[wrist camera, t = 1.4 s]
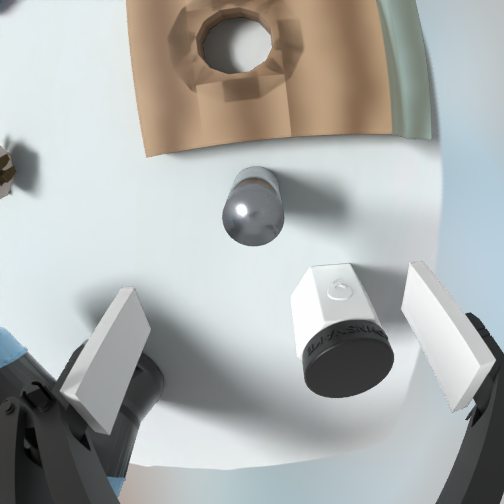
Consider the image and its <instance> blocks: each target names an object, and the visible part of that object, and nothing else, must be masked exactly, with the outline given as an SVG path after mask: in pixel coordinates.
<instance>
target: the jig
mask: <svg viewBox="0 0 504 504" xmlns="http://www.w3.org/2000/svg"><path fill="white" fill-rule="evenodd" d="M126 8H127V22H128V34H129V45H130V55H131V64H132V72H133V80H134V87H135V94H136V101H137V107H138V114H139V120H140V126H141V132H142V137H143V143H144V148H145V153H146V158H147V157H152V156H157V155H162V154H167V153H172V152H177V151H183V150H189V149H195V148H201V147H207V146H214V145H221V144H228V143H236V142H244V141H253V140H262V139H272V138H284V137H297V136H313V135H335V134H394V135H397V136H401V137H404V138H413V139H431V106H430V91H429V80H428V70H427V62H426V54H425V47H424V41H423V35H422V30H421V24H420V19H419V14H418V10H417V6H416V1H415V0H126ZM239 17H244V18H247V19H250V20H253V21H256V22H259V23H260V24H261V25H262V26H263V27H264V28H265V29H266V30H267V32H268V33H269V34H270V35H271V41H272V49H271V51H270V53H269V55H268V57H267V59H266V61H265V62H263V63H262V64H260V65H258V66H257V67H255V68H254V69H253V70H251V71H250V72H243V73H235V74H226V73H223V72H220V71H217V70H214V69H212V68H211V66H210V65H209V64H208V63H207V62H206V61H205V59H204V51H203V42H204V40H205V38H206V36H207V34H208V32H209V30H210V29H211V28H213V27H214V26H216V25H217V24H218V23H220V22H221V21H223V20H225V19H231V18H239Z"/></svg>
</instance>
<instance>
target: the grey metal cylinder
mask: <svg viewBox="0 0 504 504" xmlns="http://www.w3.org/2000/svg"><path fill="white" fill-rule="evenodd" d="M222 219H223V225H224V228H225V230H226V231H227V233H228V234H229V236H230V237H231V238H233V239H234V240H235V241H237V242H238V243H241V244H243V245H247V246H261V245H264V244H267V243H269V242H271V241H272V240H273V239H275V238H276V237H277V236H278V234H279V233H280V231H281V230H282V227H283V224H284V212H283V206H282V201H281V196H280V191H279V186H278V182H277V179H276V177H275V176H274V175H273V173H271V172H270V171H269V170H267V169H265V168H263V167H257V166H254V167H249V168H246V169H244V170H242V171H241V172H240V173H239V174H238V175H237V176H236V178H235V180H234V183H233V185H232V188H231V191H230V193H229V196H228V199H227V201H226V204H225V207H224V210H223V215H222Z"/></svg>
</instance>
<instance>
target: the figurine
mask: <svg viewBox="0 0 504 504" xmlns="http://www.w3.org/2000/svg"><path fill="white" fill-rule="evenodd" d="M15 173H16V170H15V168H14V166H13V165H12V160H11V155H10V154H9V153H8V152H6V151H5V150H4V149H3V148H2V147H1V146H0V199H1V198H3V197H5V196H7V195H8V193H9V190H10V188H11V185H12V182H13V180H14V177H15V176H14V175H15Z"/></svg>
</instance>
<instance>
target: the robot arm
mask: <svg viewBox="0 0 504 504" xmlns="http://www.w3.org/2000/svg"><path fill="white" fill-rule="evenodd" d="M401 310H402V312H403V314H404V315H405V317H406V319H407V321H408V323H409V325H410V326H411V328H412V330H413V332H414V334H415V336H416V338H417V340H418V342H419V344H420V345H421V347H422V349H423V351H424V353H425V355H426V357H427V359H428V361H429V363H430V365H431V368H432V370H433V372H434V374H435V376H436V378H437V380H438V382H439V384H440V387H441V389H442V391H443V393H444V396H445V398H446V400H447V402H448V405H449V407H450V409H451V412H455V411H458V410H460V409H463V408H465V407H467V406H468V405H469V403H470V402H471V400H472V399H474V401H475V403H476V405H475V406H474V408H473V409H472V410H471V412H470V413H469V414H468V416H467V418H466V419H465V420H468V419H469V418H470V416H471V418H470V421H469V424H468V427H467V431H466V434H465V437H464V439H463V442H462V445H461V448H460V450H459V453H458V456H457V458H456V460H455V463H454V466H453V468H452V470H451V472H450V475H449V477H448V479H447V481H446V484H445V486H444V488H443V490H442V492H441V494H440V496H439V498H438V500H437V502H436V504H500V501H501V499H502V495H503V493H504V354H503V352H502V350H501V349H500V347H499V346H498V345H497V343H496V342H495V340H494V339H493V337H492V336H490V333H489V332H488V330H487V329H485V326H484V325H483V323H482V322H481V321H480V319H479V318H477V317H476V316H474V315H473V314H472V313H467V314H464V312H463V311H462V310H461V308H460V307H459V306H458V305H457V303H456V302H455V300H454V299H453V298H452V296H451V295H450V294H449V293H448V291H447V290H446V289H445V288H444V286H443V285H442V284H441V283H440V281H439V280H438V279H437V278H436V276H435V275H434V274H433V273H432V272H431V270H430V269H429V268H428V267H427V266H426V264H425V263H424V262H423V261H421V262H412V263H409V269H408V275H407V281H406V286H405V292H404V297H403V302H402V307H401ZM150 331H151V328H150V326H149V323H148V321H147V318H146V316H145V313H144V311H143V308H142V305H141V303H140V300H139V298H138V295H137V292H136V290H135V287H126V288H121V289H120V291H119V292H118V294H117V295H116V297H115V298H114V300H113V301H112V303H111V305H110V306H109V308H108V309H107V311H106V312H105V314H104V315H103V317H102V319H101V320H100V322H99V323H98V325H97V327H96V328H95V330H94V332H93V333H92V335H91V337H90V338H89V339H88V340H86V341H85V342H84V343H83V344H82V345H81V346H80V347H79V348H77V349H76V350H75V351H74V353H73V354H72V356H71V358H70V359H69V362H68V363H67V364H66V366H65V369H64V370H63V371H62V373H61V375H60V377H59V378H58V380H57V381H56V380H55V379H54V378H53V377H52V376H51V375H50V374H49V373H48V372H47V371H46V370H45V369H44V368H43V367H42V366H41V365H40V364H39V363H38V362H37V361H36V360H35V359H34V358H33V357H32V356H31V355H30V354H29V353H28V349H27V348H26V347H23V346H22V345H21V344H20V343H19V342H18V341H17V340H16V339H15V338H14V337H13V336H12V335H11V333H10V332H9V331H8V330H6V329H5V328H3V327H0V504H120V502H119V501H118V499H117V497H118V496H119V493H120V491H121V488H122V485H123V482H124V481H125V480H126V478H125V476H126V472H127V469H128V465H129V461H130V458H131V454H132V450H133V447H134V443H135V440H136V436H137V433H138V429H139V426H140V423H141V421H142V420H143V419H144V417H145V416H146V415H147V414H148V412H149V411H150V410H151V408H152V407H153V406H154V404H155V403H156V402H157V401H158V400H159V398H160V396H161V393H162V390H163V386H164V379H163V376H162V374H161V372H160V370H159V369H158V367H157V366H156V365H155V364H154V363H153V361H151V360H150V359H149V358H148V357H147V356H146V355H144V354H143V353H142V350H143V348H144V346H145V343H146V341H147V338H148V336H149V334H150Z"/></svg>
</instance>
